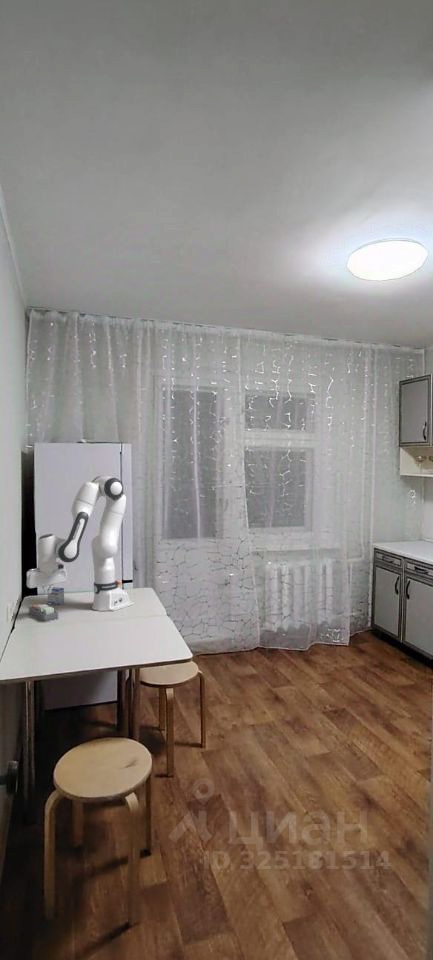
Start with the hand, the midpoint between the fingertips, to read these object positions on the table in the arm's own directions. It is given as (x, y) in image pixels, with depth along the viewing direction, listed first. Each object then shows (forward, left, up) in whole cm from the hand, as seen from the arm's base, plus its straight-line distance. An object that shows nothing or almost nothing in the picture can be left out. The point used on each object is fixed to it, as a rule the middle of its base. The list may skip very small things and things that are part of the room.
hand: (47, 593), depth 252 cm
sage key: (0, 0, -10) cm, 10 cm away
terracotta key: (0, -13, -12) cm, 17 cm away
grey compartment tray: (0, -6, -13) cm, 14 cm away
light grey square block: (0, -6, -11) cm, 12 cm away
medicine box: (-15, -24, -13) cm, 31 cm away
